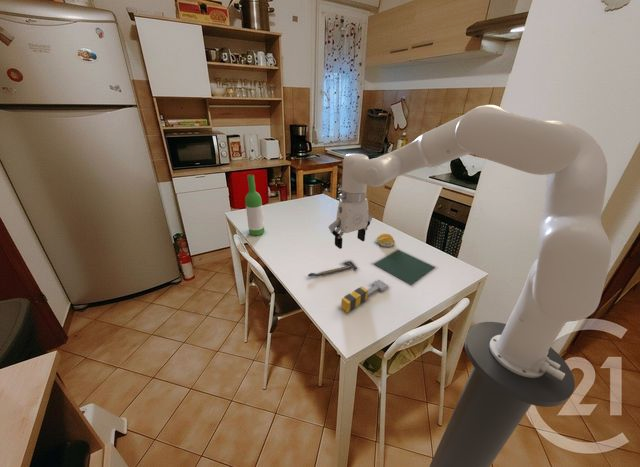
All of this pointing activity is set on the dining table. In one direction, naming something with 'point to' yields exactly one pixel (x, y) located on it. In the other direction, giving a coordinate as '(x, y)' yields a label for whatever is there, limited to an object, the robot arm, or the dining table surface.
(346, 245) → the dining table surface
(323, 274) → the tomahawk
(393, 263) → the mat
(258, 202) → the wine bottle
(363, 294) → the yellow striped handle
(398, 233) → the dining table surface
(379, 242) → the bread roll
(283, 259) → the dining table surface
